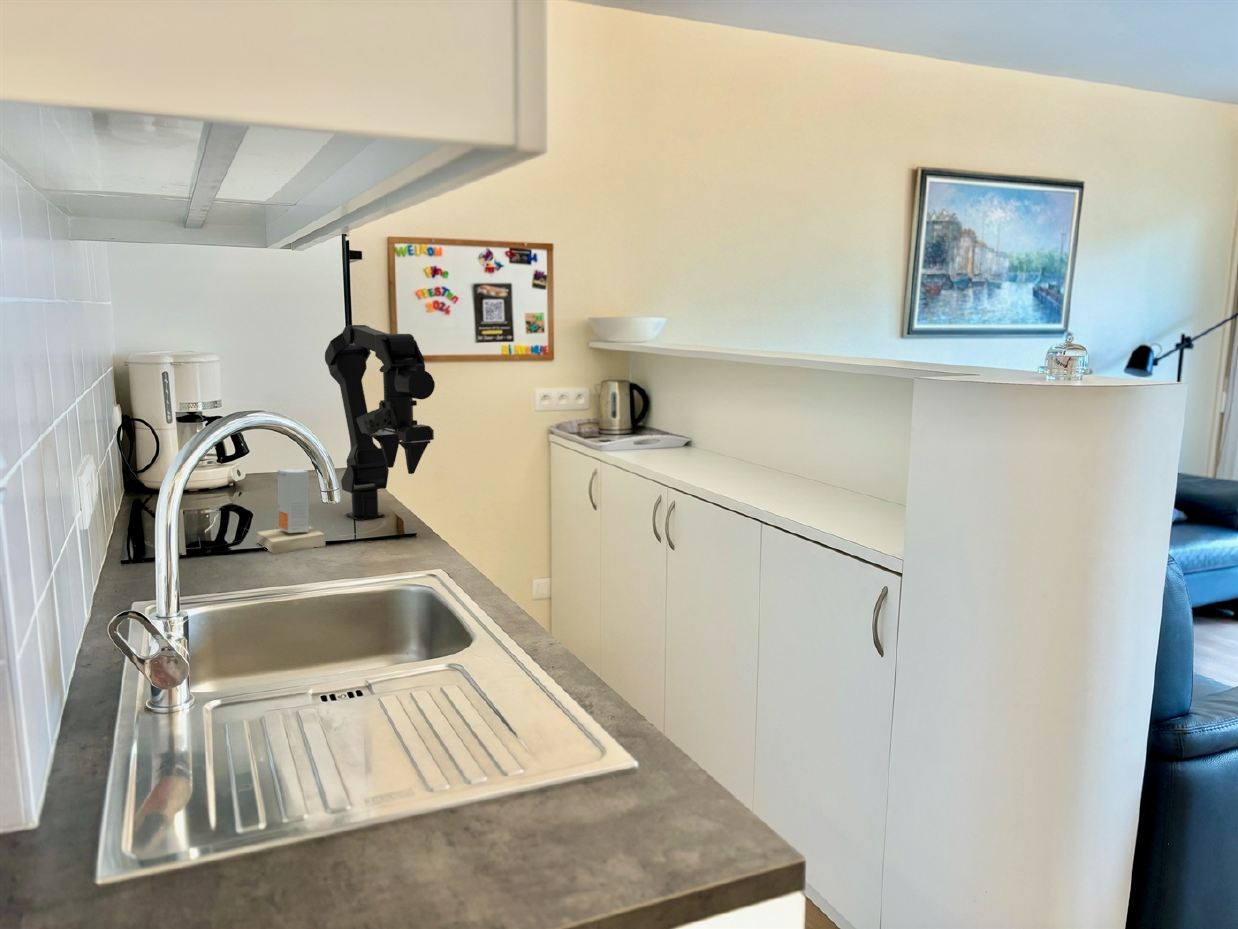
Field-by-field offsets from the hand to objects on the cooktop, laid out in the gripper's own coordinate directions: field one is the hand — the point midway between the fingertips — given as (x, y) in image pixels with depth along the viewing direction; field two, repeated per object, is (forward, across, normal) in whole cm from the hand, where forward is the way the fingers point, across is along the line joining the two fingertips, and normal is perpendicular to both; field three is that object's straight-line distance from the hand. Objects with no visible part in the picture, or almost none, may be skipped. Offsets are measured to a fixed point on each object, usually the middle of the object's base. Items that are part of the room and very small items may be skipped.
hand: (400, 470), depth 187 cm
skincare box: (+10, -4, -22) cm, 24 cm away
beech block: (+14, -4, -22) cm, 26 cm away
